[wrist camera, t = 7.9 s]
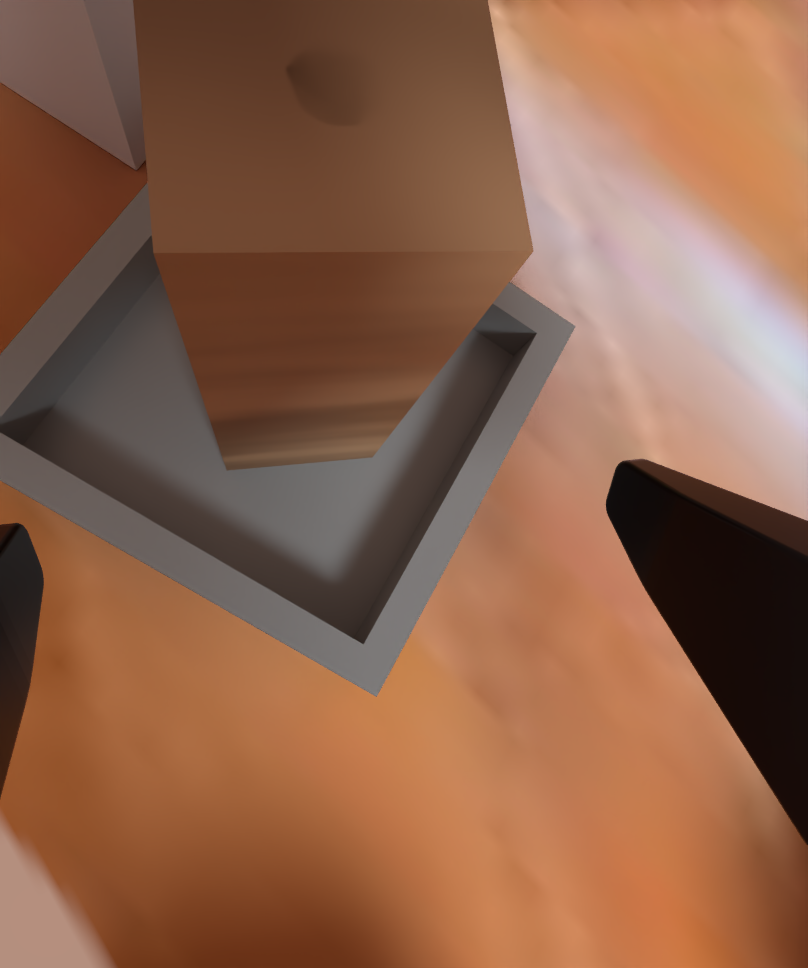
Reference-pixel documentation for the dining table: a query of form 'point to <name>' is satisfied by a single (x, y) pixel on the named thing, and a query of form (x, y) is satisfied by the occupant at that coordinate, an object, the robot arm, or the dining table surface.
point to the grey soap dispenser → (78, 67)
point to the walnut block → (325, 207)
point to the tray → (267, 490)
